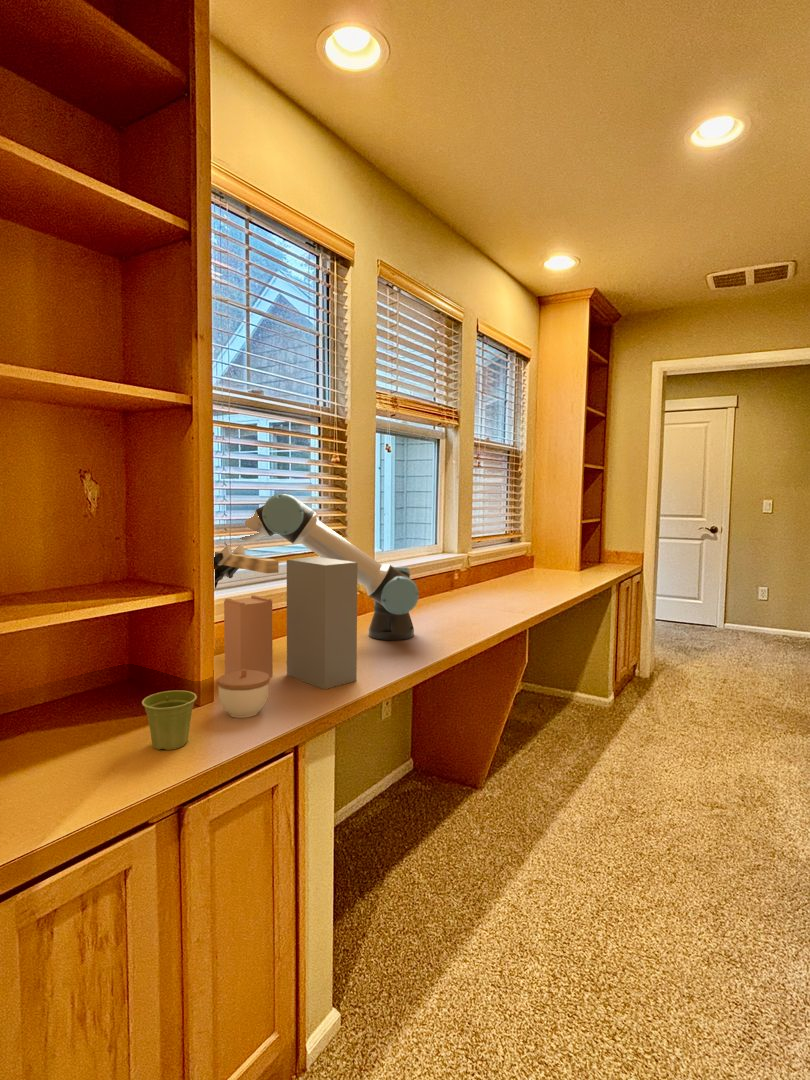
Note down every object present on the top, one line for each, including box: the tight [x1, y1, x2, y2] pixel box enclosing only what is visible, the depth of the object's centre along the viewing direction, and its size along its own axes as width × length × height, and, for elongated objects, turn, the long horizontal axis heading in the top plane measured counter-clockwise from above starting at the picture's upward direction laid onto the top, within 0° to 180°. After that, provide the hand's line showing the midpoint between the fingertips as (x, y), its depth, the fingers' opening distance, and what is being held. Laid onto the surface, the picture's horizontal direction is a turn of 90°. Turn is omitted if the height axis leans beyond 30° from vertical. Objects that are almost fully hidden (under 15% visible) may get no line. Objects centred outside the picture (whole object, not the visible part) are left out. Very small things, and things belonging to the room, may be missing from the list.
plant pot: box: [141, 689, 198, 751], centre depth 111 cm, size 9×9×9 cm
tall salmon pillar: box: [223, 594, 274, 678], centre depth 152 cm, size 8×9×20 cm
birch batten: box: [215, 552, 279, 575], centre depth 151 cm, size 26×3×3 cm, turn 45°
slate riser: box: [286, 556, 358, 690], centre depth 151 cm, size 16×10×30 cm, turn 45°
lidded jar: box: [217, 669, 271, 719], centre depth 127 cm, size 11×11×9 cm
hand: (236, 549), depth 154 cm, fingers closed on birch batten, 3 cm apart
